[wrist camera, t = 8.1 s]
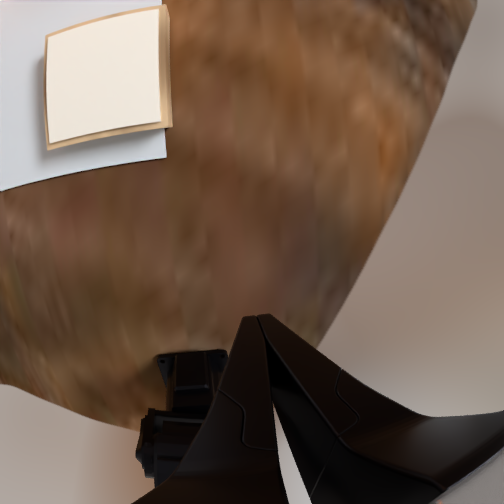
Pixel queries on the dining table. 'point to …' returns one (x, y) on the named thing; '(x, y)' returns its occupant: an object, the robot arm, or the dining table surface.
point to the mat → (32, 95)
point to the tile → (108, 77)
